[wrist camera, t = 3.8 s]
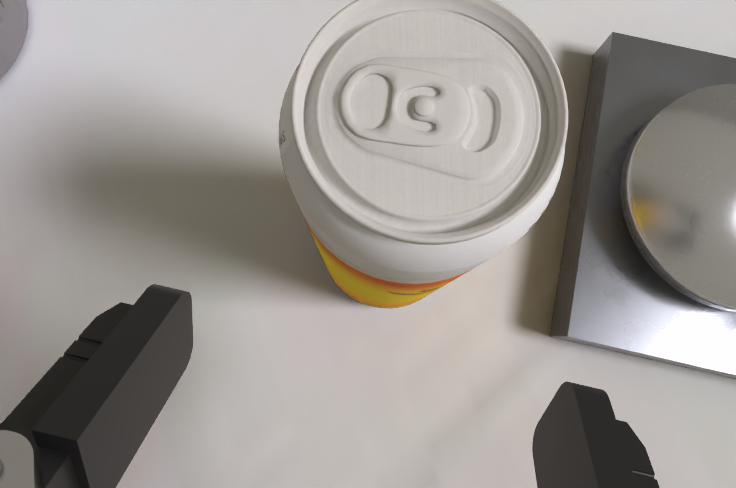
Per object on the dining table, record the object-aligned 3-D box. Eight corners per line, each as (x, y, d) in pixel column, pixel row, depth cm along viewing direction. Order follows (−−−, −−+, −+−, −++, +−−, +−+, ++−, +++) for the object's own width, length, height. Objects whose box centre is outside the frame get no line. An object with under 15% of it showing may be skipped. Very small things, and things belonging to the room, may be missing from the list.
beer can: (440, 317, 24) (579, 287, 9) (314, 299, 24) (241, 237, 9) (455, 195, 25) (598, -13, 10) (334, 178, 25) (298, -56, 10)
